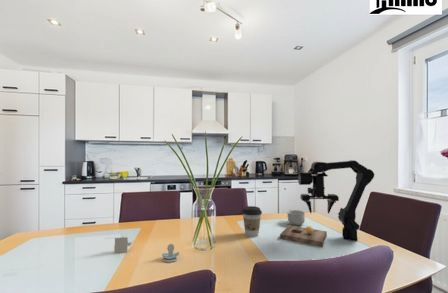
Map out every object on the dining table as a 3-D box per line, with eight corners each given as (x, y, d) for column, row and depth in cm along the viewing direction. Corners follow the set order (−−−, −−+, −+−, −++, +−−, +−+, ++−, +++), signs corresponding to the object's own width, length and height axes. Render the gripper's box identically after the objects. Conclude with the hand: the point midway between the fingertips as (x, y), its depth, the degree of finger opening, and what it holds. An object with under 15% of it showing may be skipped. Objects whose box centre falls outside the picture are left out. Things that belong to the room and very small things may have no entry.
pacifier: (178, 263, 94) (179, 256, 100) (178, 248, 94) (179, 242, 100) (160, 263, 94) (163, 256, 100) (160, 248, 94) (163, 242, 100)
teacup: (307, 227, 141) (307, 214, 141) (289, 226, 141) (289, 214, 141) (300, 220, 155) (300, 208, 155) (284, 220, 155) (284, 208, 155)
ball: (314, 233, 122) (314, 225, 122) (312, 235, 119) (312, 227, 119) (306, 232, 124) (306, 224, 124) (304, 234, 121) (304, 226, 121)
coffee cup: (240, 237, 123) (240, 209, 123) (243, 230, 134) (243, 205, 134) (261, 239, 120) (261, 211, 121) (262, 232, 131) (262, 206, 132)
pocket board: (326, 235, 125) (326, 231, 125) (322, 247, 110) (322, 242, 110) (288, 229, 136) (288, 225, 136) (280, 238, 121) (280, 234, 121)
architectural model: (116, 251, 106) (116, 235, 107) (131, 250, 107) (132, 234, 108) (114, 254, 103) (114, 238, 103) (129, 253, 104) (130, 237, 104)
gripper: (331, 182, 130) (332, 209, 130) (298, 182, 133) (299, 209, 132) (338, 185, 119) (339, 215, 119) (302, 185, 122) (303, 214, 121)
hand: (319, 213), depth 123 cm, fingers open, 9 cm apart
